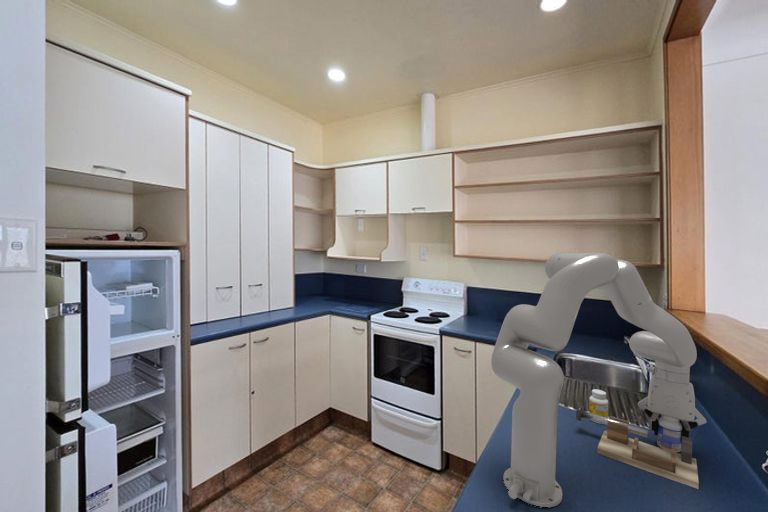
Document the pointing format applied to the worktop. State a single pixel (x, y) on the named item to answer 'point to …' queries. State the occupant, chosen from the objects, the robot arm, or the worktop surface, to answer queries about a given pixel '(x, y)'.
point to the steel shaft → (582, 414)
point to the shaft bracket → (649, 454)
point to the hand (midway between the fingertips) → (669, 437)
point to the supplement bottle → (598, 403)
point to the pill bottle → (669, 433)
